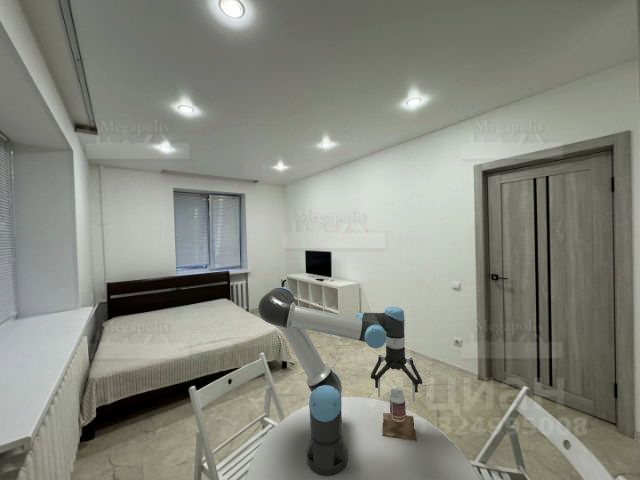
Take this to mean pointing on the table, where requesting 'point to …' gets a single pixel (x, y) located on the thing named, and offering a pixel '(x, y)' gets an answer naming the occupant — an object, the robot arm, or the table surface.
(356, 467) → the table surface
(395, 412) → the pill bottle
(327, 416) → the robot arm
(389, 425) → the brown wooden block
